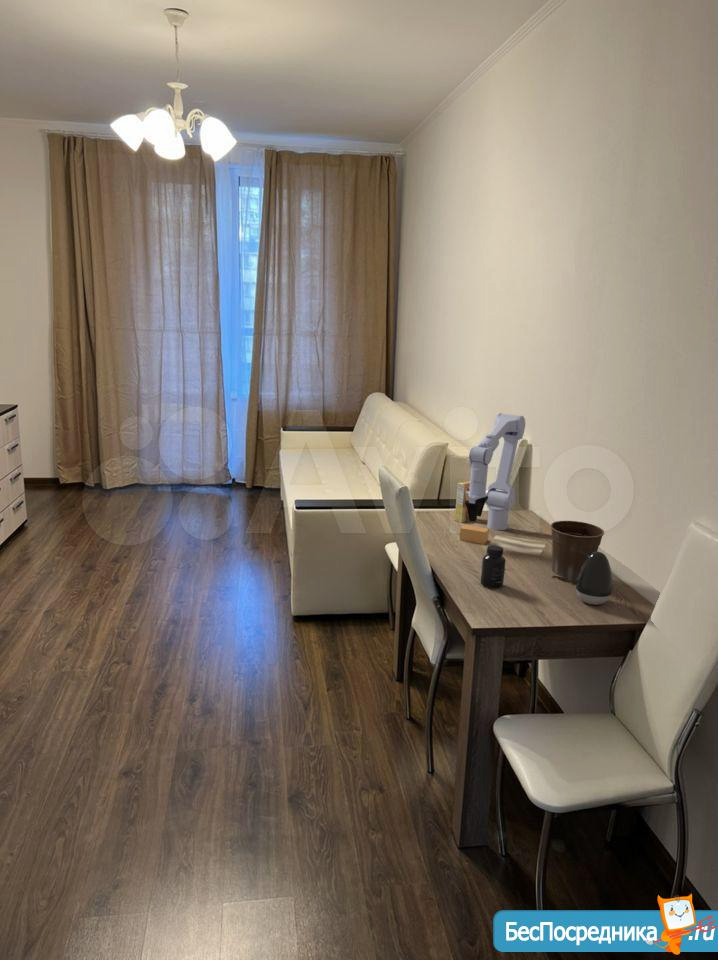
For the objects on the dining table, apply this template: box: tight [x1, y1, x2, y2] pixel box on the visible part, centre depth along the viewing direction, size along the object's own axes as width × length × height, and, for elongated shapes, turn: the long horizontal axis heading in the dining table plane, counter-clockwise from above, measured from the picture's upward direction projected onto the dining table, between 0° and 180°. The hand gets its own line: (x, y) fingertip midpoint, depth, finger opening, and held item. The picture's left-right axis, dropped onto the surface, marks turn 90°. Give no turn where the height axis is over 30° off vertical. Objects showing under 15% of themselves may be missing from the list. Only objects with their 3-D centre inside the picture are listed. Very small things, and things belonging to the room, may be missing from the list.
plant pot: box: [550, 520, 605, 584], centre depth 231 cm, size 16×16×16 cm
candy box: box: [454, 480, 470, 523], centre depth 288 cm, size 9×4×15 cm, turn 129°
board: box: [486, 534, 548, 557], centre depth 258 cm, size 16×18×2 cm
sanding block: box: [459, 524, 490, 545], centre depth 260 cm, size 5×9×6 cm, turn 67°
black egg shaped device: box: [575, 551, 614, 606], centre depth 212 cm, size 10×10×15 cm
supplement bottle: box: [480, 545, 506, 589], centre depth 221 cm, size 7×7×12 cm
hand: (475, 518), depth 258 cm, fingers open, 7 cm apart
